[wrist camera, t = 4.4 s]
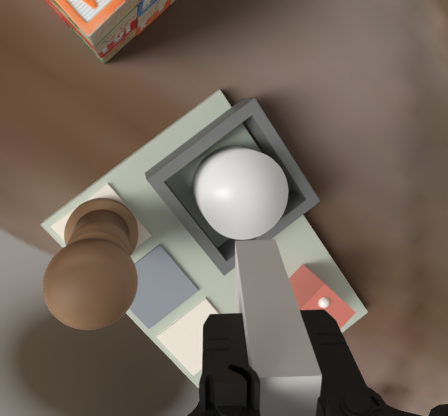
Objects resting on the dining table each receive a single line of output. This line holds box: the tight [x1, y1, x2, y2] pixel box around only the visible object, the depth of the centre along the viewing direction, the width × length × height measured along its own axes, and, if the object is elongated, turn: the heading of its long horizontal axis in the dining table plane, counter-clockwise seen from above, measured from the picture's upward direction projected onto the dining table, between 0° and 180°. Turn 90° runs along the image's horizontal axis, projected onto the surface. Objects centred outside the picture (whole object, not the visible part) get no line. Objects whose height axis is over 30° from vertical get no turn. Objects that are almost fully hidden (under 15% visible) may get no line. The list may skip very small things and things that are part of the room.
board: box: [41, 90, 367, 388], centre depth 31 cm, size 17×24×4 cm
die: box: [289, 264, 355, 329], centre depth 32 cm, size 4×4×4 cm
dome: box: [192, 146, 288, 240], centre depth 28 cm, size 6×6×4 cm
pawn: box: [43, 198, 138, 330], centre depth 23 cm, size 5×5×11 cm
